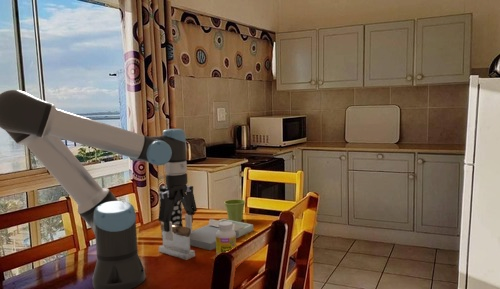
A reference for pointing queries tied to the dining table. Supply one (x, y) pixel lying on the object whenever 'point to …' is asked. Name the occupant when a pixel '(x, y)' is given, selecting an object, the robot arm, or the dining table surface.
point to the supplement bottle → (225, 237)
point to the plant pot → (235, 209)
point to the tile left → (214, 222)
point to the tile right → (237, 227)
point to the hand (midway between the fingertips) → (179, 236)
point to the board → (205, 237)
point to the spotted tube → (177, 210)
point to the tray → (241, 231)
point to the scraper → (177, 243)
